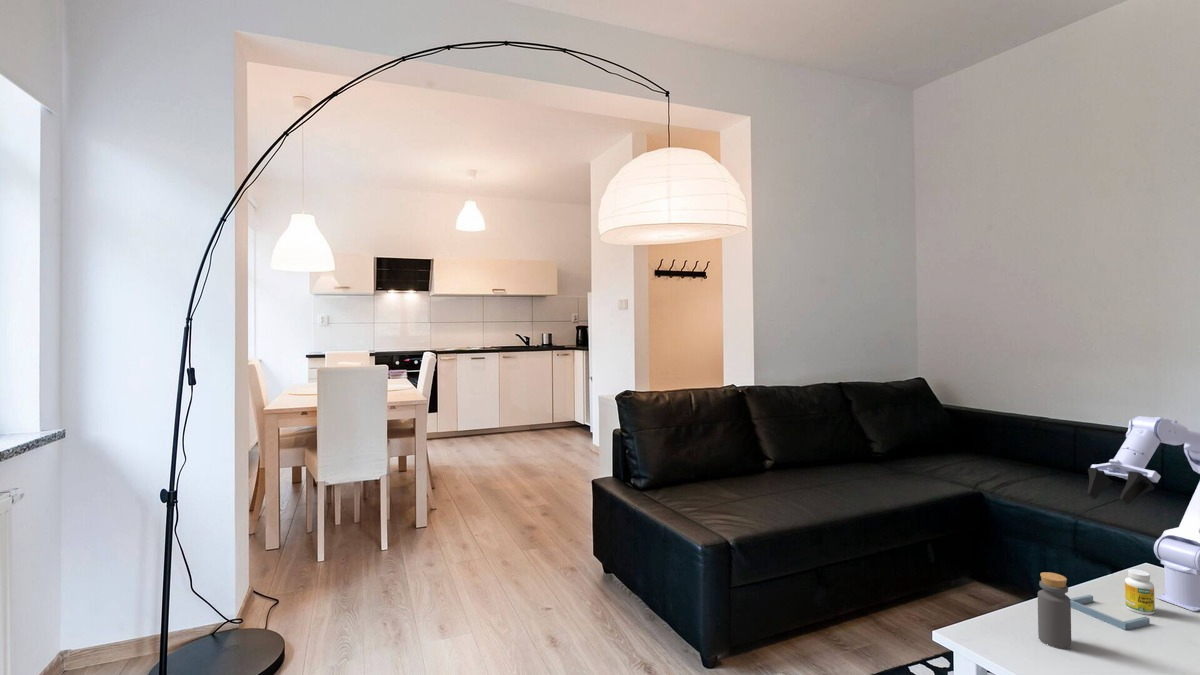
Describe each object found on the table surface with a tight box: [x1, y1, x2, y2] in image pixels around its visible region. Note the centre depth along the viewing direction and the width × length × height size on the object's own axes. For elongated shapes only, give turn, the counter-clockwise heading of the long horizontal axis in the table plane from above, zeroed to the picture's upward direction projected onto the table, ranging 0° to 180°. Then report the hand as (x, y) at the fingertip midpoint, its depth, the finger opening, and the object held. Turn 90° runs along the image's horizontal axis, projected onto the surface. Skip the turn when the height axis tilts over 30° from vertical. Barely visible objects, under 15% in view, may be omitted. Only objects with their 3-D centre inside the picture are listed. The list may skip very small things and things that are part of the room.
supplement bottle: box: [1124, 568, 1155, 616], centre depth 140 cm, size 5×5×10 cm
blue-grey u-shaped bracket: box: [1070, 594, 1151, 631], centre depth 138 cm, size 8×13×2 cm, turn 16°
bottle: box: [1037, 571, 1072, 650], centre depth 127 cm, size 6×6×15 cm
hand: (1106, 499), depth 136 cm, fingers open, 7 cm apart
